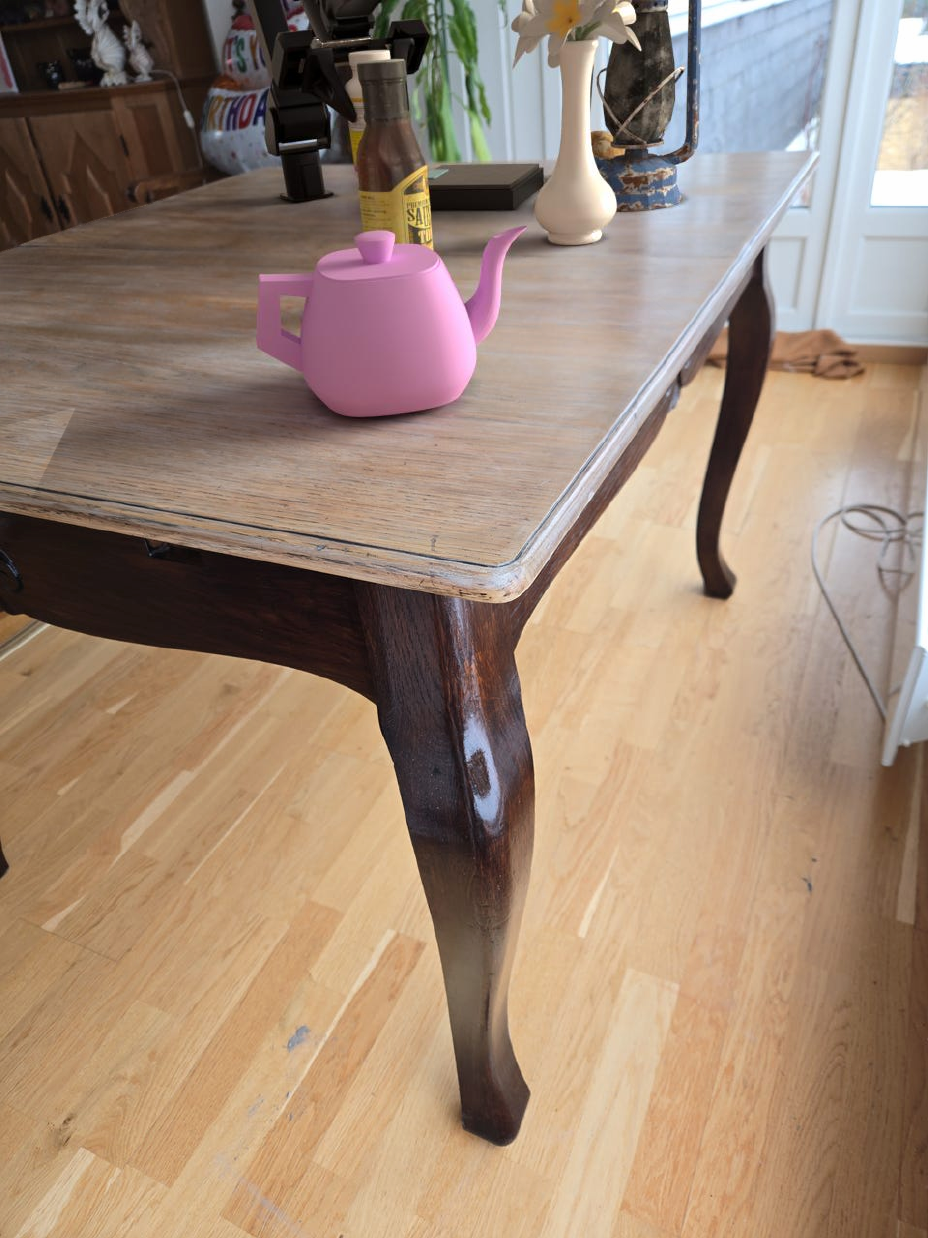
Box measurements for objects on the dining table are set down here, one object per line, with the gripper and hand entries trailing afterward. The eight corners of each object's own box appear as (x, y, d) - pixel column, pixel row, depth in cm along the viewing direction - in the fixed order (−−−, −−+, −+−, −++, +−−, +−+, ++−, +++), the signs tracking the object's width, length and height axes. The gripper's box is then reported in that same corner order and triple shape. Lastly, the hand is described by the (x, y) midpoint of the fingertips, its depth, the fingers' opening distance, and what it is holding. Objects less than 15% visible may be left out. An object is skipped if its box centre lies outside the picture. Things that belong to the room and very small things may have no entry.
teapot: (551, 404, 61) (550, 238, 55) (268, 441, 59) (232, 273, 53) (510, 344, 72) (505, 198, 65) (269, 374, 70) (239, 227, 63)
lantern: (685, 187, 118) (708, -97, 100) (701, 206, 108) (729, -105, 90) (572, 194, 119) (574, -85, 101) (578, 214, 109) (581, -92, 91)
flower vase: (605, 216, 107) (613, -36, 92) (647, 251, 92) (664, -41, 78) (502, 225, 107) (493, -26, 92) (528, 263, 92) (522, -30, 77)
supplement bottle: (404, 169, 108) (393, 47, 100) (414, 178, 103) (403, 50, 95) (351, 175, 107) (336, 52, 99) (359, 185, 102) (343, 55, 94)
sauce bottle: (429, 318, 79) (406, 61, 67) (364, 318, 80) (330, 65, 68) (444, 296, 84) (426, 54, 72) (383, 297, 85) (355, 59, 74)
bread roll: (620, 210, 125) (647, 152, 121) (556, 181, 123) (581, 121, 118) (611, 196, 133) (636, 142, 129) (551, 169, 131) (574, 112, 126)
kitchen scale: (401, 209, 118) (399, 184, 116) (441, 186, 130) (439, 163, 128) (513, 209, 114) (512, 183, 112) (543, 185, 126) (543, 161, 124)
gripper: (259, -61, 90) (320, 68, 89) (414, -69, 97) (472, 50, 96) (248, 29, 100) (303, 146, 99) (389, 16, 107) (441, 124, 106)
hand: (381, 115), depth 100 cm, fingers closed on supplement bottle, 6 cm apart
